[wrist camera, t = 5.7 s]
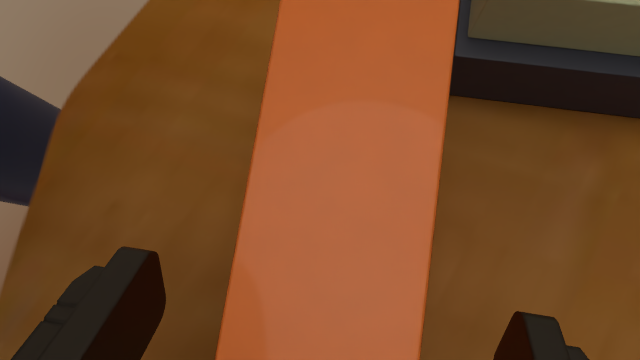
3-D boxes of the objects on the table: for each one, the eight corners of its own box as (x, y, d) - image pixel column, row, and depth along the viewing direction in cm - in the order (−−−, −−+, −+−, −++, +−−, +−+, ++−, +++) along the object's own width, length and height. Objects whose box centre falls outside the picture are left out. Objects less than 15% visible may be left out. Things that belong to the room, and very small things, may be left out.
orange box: (301, 321, 26) (197, 447, 8) (338, 81, 28) (322, -237, 10) (364, 332, 25) (405, 487, 8) (396, 88, 28) (485, -227, 10)
